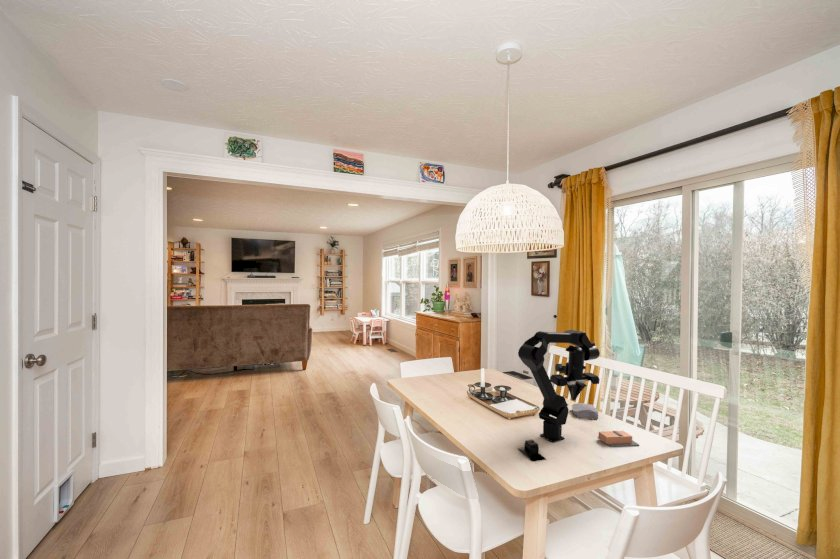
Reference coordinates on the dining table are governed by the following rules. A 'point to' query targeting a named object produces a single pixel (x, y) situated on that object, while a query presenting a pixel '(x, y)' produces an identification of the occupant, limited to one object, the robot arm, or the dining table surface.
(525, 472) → the dining table surface
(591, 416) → the stone block
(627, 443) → the charcoal mat
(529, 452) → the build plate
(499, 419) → the dining table surface
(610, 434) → the terracotta block
